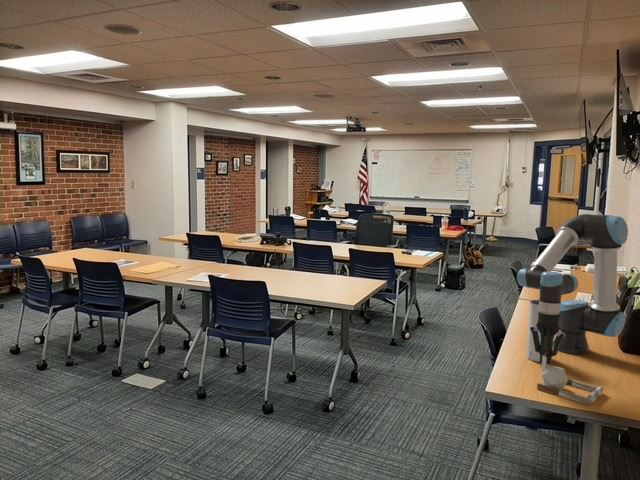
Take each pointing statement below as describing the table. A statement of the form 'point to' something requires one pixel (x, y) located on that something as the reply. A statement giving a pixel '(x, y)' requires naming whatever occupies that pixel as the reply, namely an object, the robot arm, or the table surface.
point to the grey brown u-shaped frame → (589, 400)
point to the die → (555, 377)
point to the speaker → (532, 322)
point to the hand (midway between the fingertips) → (544, 371)
